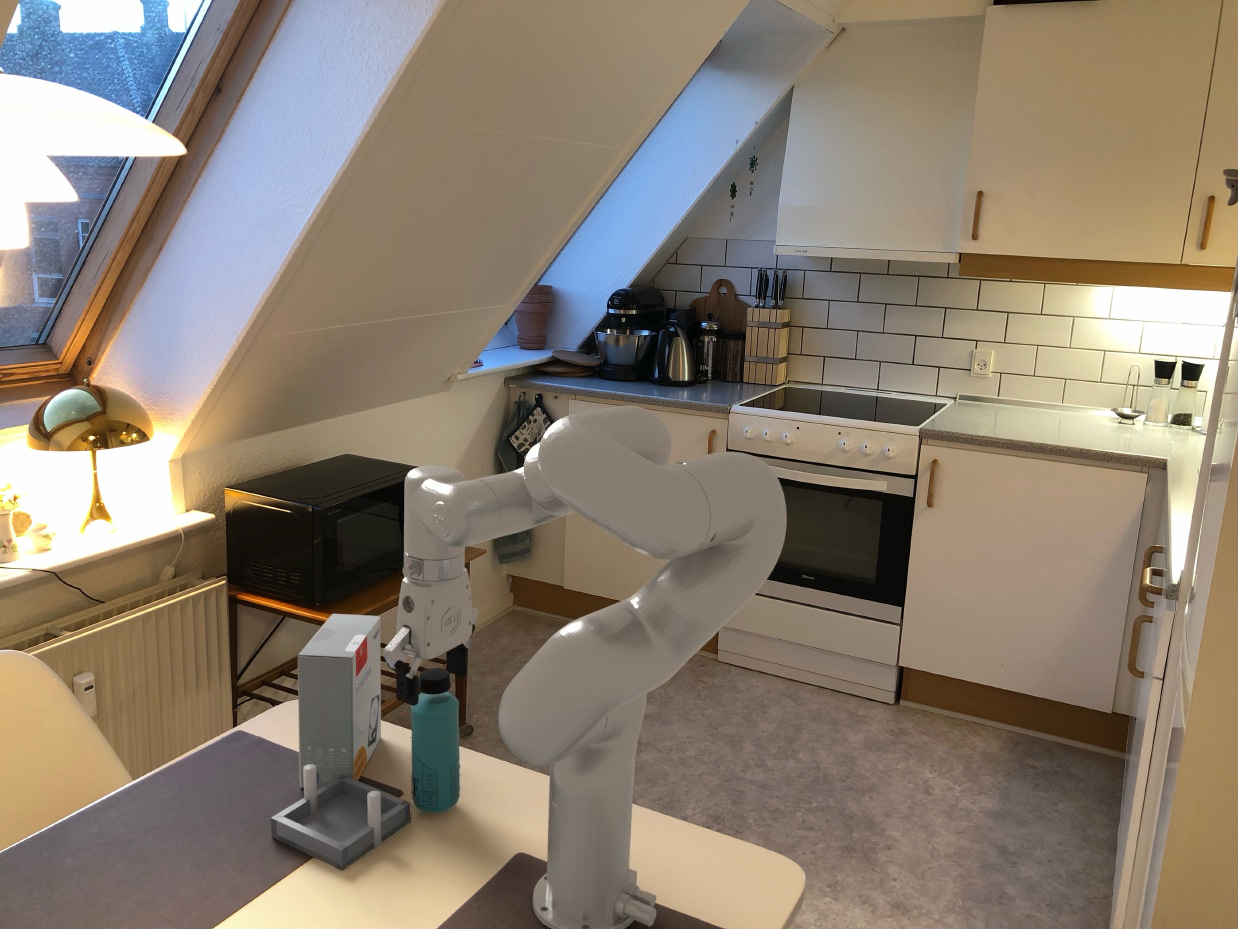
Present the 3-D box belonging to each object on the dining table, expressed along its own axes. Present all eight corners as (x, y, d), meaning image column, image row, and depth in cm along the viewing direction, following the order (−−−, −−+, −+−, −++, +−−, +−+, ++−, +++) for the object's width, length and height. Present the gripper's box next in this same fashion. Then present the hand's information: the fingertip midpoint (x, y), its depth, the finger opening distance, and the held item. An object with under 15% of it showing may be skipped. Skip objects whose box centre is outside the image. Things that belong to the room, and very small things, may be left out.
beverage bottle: (470, 810, 133) (471, 673, 128) (429, 830, 128) (429, 688, 123) (440, 790, 137) (440, 657, 132) (400, 809, 132) (399, 671, 127)
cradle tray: (412, 822, 129) (411, 774, 128) (343, 871, 119) (342, 820, 117) (341, 792, 135) (339, 746, 134) (270, 836, 125) (267, 787, 123)
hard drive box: (354, 792, 136) (351, 658, 131) (298, 790, 136) (293, 655, 131) (382, 736, 151) (381, 614, 146) (333, 734, 151) (329, 611, 146)
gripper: (410, 591, 115) (409, 723, 119) (499, 552, 130) (496, 671, 134) (363, 576, 119) (363, 705, 123) (455, 540, 133) (452, 657, 138)
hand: (432, 687), depth 129 cm, fingers open, 9 cm apart
